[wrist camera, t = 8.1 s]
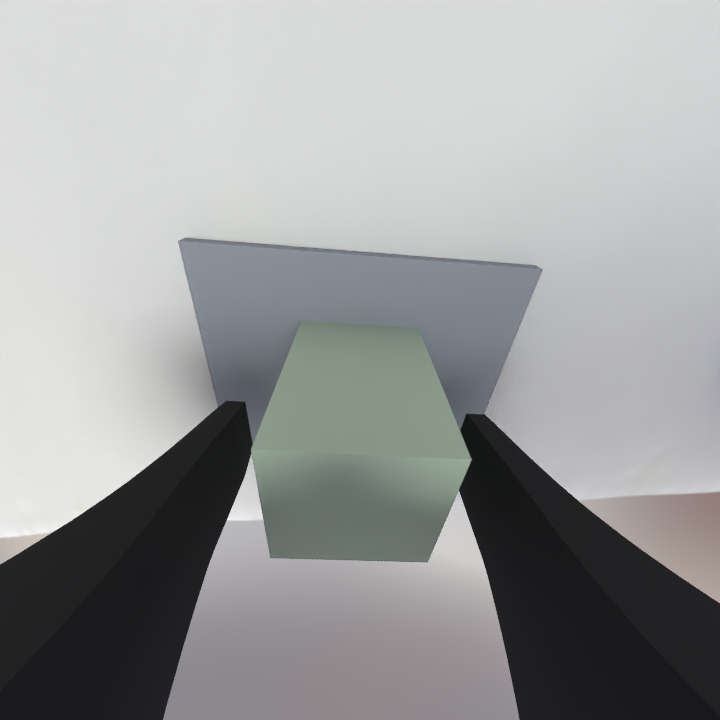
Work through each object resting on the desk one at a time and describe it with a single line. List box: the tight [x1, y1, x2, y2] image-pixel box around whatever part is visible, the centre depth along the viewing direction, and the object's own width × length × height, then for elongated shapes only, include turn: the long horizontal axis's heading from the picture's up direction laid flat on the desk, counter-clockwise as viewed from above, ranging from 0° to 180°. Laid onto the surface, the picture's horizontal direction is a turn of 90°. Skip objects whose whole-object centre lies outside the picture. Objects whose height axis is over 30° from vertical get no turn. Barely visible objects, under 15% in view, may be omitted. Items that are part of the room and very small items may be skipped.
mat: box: [178, 238, 543, 454], centre depth 12 cm, size 12×10×1 cm
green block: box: [251, 321, 472, 562], centre depth 9 cm, size 4×4×6 cm
